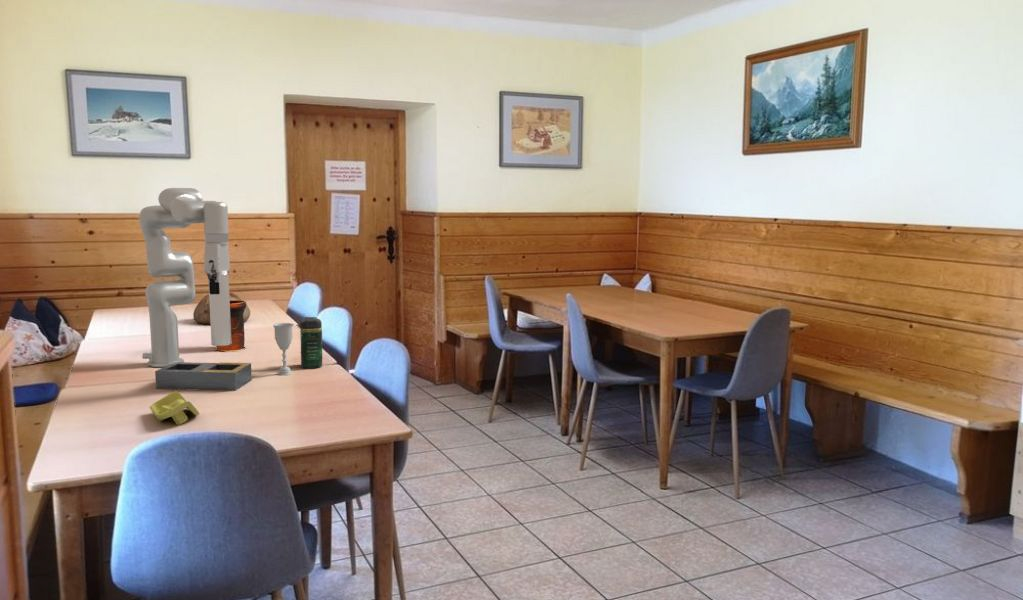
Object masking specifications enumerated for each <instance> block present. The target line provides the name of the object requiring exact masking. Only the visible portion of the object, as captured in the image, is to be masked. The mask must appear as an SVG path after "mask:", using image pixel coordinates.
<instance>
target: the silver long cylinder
mask: <svg viewBox="0 0 1023 600" xmlns="http://www.w3.org/2000/svg"><path fill="white" fill-rule="evenodd" d="M212 273H216V272H212ZM214 276H215V277H216V275H214ZM229 278H230V277H229V274H228V273H227V271H222V273H220V274H219V278H218V282H219V288H220V294H210V291H209V290H208V294H209V302H210V323H211V324H210V336H211V337H210V340H211V341H210V342H211V343H210V344H211V345H212V346H225V345H230V344H232V342H231V320H230V297H229V295H230V294H229V293H230V279H229ZM207 279H208V278H207ZM208 280H209V279H208Z"/></svg>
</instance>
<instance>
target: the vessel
mask: <svg viewBox="0 0 1023 600" xmlns="http://www.w3.org/2000/svg"><path fill="white" fill-rule="evenodd" d="M246 304H247V301H245V300H244V301H239V300H230V320H231V342H232V344H230V345H225V346H216V347H215V348H216V349H215V348H214V350H215V351H221V352H225V353H226V352H228V351H229V353H230V352H240V350H241V349H244V348H245V347H246V346H245V342H246V341H245V339H246V338H245V322H244V317H243V313H244V310H245V308H246ZM244 346H245V347H244ZM245 349H246V348H245ZM245 349H244V350H245ZM241 351H242V350H241Z"/></svg>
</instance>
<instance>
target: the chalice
mask: <svg viewBox="0 0 1023 600" xmlns="http://www.w3.org/2000/svg"><path fill="white" fill-rule="evenodd" d="M272 326H273V328H274V340H275V342H276V344H277V346H278V348H279V350H280V351H282V354H281V356H282V360H281V361H282V363H283V365H282V366H281V367H280V368H279V370H278V373H277V375H278V374H279V375H278V376H290V375H292V374H293V372H292V370H291V368H290V366H287V362H288V360H287V352H286V351H287V350H288V349H289V347H290V345H291V344H292V341H293V337H294V336H293V326H294V323H289V322H279V323H273V324H272ZM289 374H290V375H289Z"/></svg>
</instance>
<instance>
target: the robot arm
mask: <svg viewBox="0 0 1023 600" xmlns="http://www.w3.org/2000/svg"><path fill="white" fill-rule="evenodd" d="M158 203H159V205H151V206H144V207H143V208H142V209H141V210H140V213H139V215H138V216H139V217H138V221H139V222H138V223H139V227H140V230H141V232H142V233H141V234H142V236H143V238H144V242H145V251H146V253H145V254H146V263H147V264H146V265H147V271H148V274H149V275H150V276H151V277H153V278H172V277H173V278H174V277H177V278H178V279H175V280H163V281H162V280H159V281H154V282H151V283H149V284H148V285H147V286H146V288H145V291H144V292H145V298H146V299H145V300H146V302H147V309H148V313H149V315H148V316H149V329H150V330H149V331H150V345H151V348H150V350H151V352H143V353H142V357H141V358H142V359H145V360H146V359H148V361H147V366H148V367H152V368H163V367H166V366H168V365H170V364H172V363H175V362H185V360H184V359H183V358H181V357H180V345H179V343H180V342H179V341H180V340H179V325H178V323H179V322H178V316H177V314H176V313H175V312H174V311H173V309H171V307H174V306H180V305H181V306H182V305H183V306H184V305H189V304H191V303H193V302H194V301H195V298H196V284H195V282H196V281H195V272H194V271H195V270H194V269H195V268H194V263H193V262H194V261H193V258H192V257H191V255H190V254H189V253H188V252H186V251H182V250H180V251H179V250H178V251H173V250H172V246H171V245H172V243H171V239H170V237H169V235H168V234H167V233H166V231H165V230H164V229H185V228H189V227H190V226H191V225H192V224H203V226H204V227H203V228H204V231H203V232H204V244H205V245H204V257H203V259H204V262H203V263H204V265H203V268H204V274H206V276H207V279H209V280H208V281H207V282H208V292H209V291H210V294H220V288H219V282H218V278H219V274H220V273H222V271H227V273H228V274H229V273H230V267H231V264H230V250H229V244H230V234H229V212H228V211H229V210H228V208H229V207H228V204H227V203H226V202H224V201H216V200H203V195H202V193H201V192H200V191H199V190H198V189H196V188H194V187H193V188H192V187H168V188H165V189H163V190H162V191H161V192H160V193H159V194H158ZM212 272H216V273H212ZM214 275H216V277H215V276H214Z"/></svg>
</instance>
